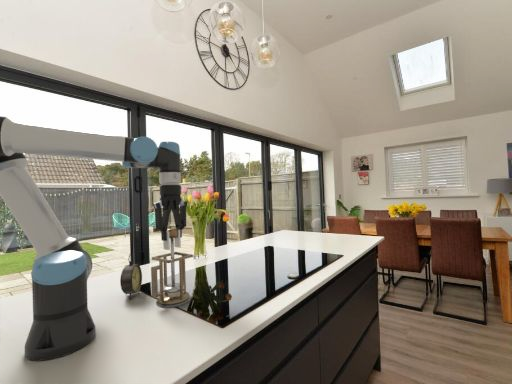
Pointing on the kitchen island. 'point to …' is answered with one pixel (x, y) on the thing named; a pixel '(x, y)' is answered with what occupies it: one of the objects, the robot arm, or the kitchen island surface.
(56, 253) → the robot arm
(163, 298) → the press frame
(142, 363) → the kitchen island surface
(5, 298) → the kitchen island surface
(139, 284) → the alarm clock
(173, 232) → the plunger
